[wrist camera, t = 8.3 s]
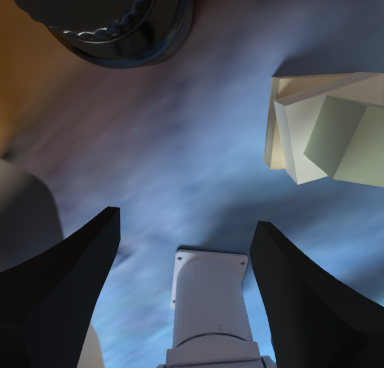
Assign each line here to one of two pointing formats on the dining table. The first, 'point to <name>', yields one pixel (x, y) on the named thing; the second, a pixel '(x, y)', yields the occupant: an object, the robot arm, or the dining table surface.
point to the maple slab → (278, 90)
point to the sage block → (349, 141)
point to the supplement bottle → (116, 28)
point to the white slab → (308, 113)
